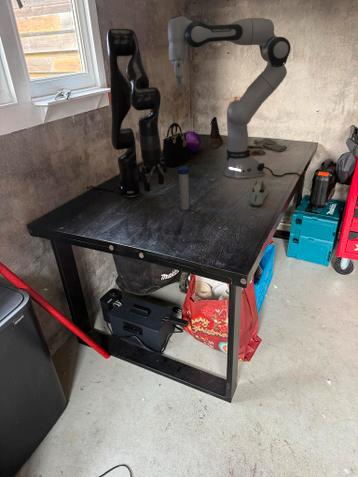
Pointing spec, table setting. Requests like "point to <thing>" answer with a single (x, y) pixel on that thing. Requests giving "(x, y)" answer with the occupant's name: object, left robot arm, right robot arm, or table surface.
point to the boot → (215, 133)
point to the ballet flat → (258, 193)
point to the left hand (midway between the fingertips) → (154, 187)
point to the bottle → (184, 191)
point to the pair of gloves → (267, 144)
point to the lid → (183, 170)
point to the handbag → (175, 147)
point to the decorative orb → (192, 141)
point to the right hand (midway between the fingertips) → (179, 86)
